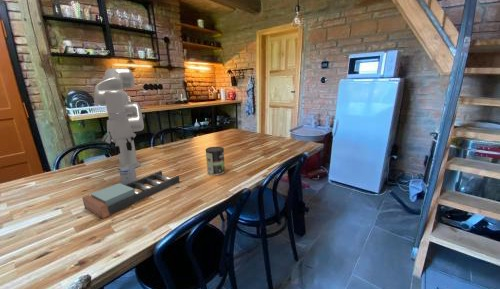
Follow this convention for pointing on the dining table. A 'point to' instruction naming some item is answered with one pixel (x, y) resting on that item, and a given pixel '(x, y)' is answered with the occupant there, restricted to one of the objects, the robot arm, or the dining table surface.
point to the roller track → (104, 210)
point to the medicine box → (127, 174)
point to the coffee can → (215, 160)
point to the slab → (114, 194)
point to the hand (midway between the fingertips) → (123, 151)
